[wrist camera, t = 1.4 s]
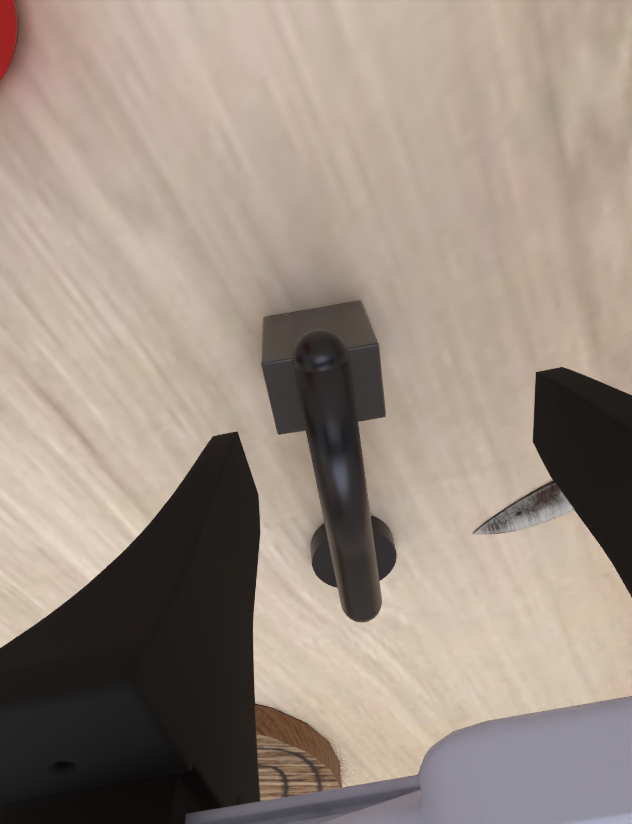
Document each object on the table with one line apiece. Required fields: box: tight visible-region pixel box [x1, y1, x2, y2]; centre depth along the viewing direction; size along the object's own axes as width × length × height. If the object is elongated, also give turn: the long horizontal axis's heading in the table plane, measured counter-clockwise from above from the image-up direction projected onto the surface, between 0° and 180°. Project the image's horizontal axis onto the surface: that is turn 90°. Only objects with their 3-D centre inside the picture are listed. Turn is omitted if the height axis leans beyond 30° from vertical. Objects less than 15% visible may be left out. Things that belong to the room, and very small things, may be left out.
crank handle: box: [292, 329, 396, 622], centre depth 22 cm, size 17×4×6 cm, turn 9°
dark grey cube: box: [261, 301, 386, 435], centre depth 20 cm, size 3×4×4 cm
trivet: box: [255, 705, 342, 801], centre depth 40 cm, size 25×25×2 cm
